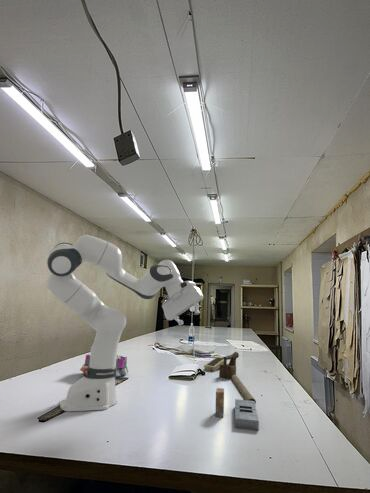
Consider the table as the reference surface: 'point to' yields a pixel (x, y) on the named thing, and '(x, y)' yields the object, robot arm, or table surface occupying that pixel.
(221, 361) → the box
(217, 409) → the clip
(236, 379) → the roll
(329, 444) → the table surface
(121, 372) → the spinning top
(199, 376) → the table surface
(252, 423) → the grey slotted block
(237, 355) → the wooden tool caddy
